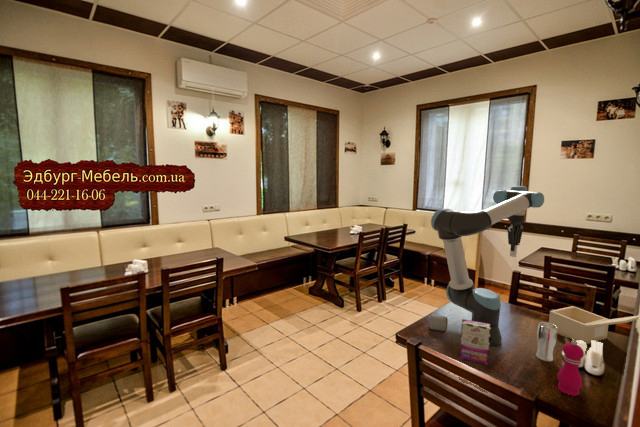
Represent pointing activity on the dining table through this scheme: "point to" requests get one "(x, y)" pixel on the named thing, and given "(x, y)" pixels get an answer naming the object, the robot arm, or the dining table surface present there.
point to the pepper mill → (571, 369)
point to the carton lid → (614, 321)
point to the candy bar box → (475, 341)
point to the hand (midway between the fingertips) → (513, 256)
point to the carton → (578, 324)
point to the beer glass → (546, 340)
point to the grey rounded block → (438, 322)
